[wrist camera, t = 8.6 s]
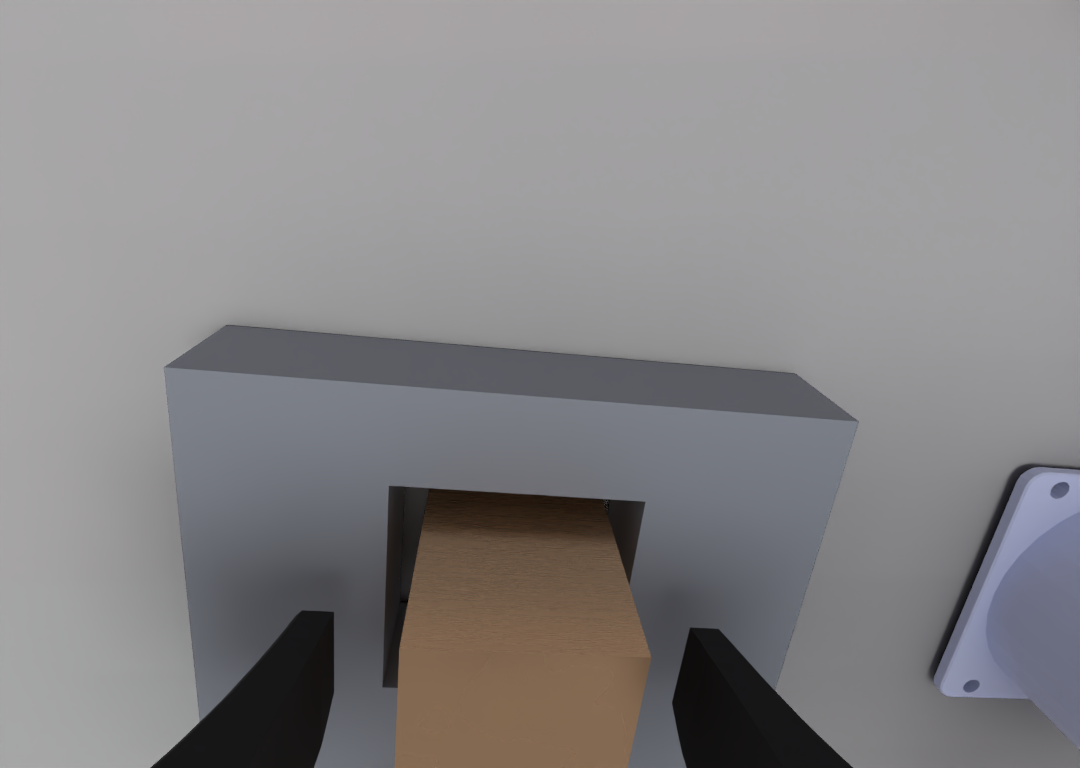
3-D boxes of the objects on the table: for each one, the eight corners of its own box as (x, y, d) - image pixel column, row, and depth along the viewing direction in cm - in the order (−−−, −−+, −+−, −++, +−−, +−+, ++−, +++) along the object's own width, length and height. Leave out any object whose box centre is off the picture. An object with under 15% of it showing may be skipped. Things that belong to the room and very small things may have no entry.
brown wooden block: (589, 457, 17) (651, 657, 10) (570, 581, 18) (614, 828, 12) (437, 446, 16) (399, 648, 10) (429, 574, 18) (392, 827, 11)
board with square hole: (795, 374, 16) (1000, 529, 10) (679, 809, 22) (758, 1095, 15) (226, 324, 15) (15, 468, 8) (257, 805, 20) (144, 1119, 14)
